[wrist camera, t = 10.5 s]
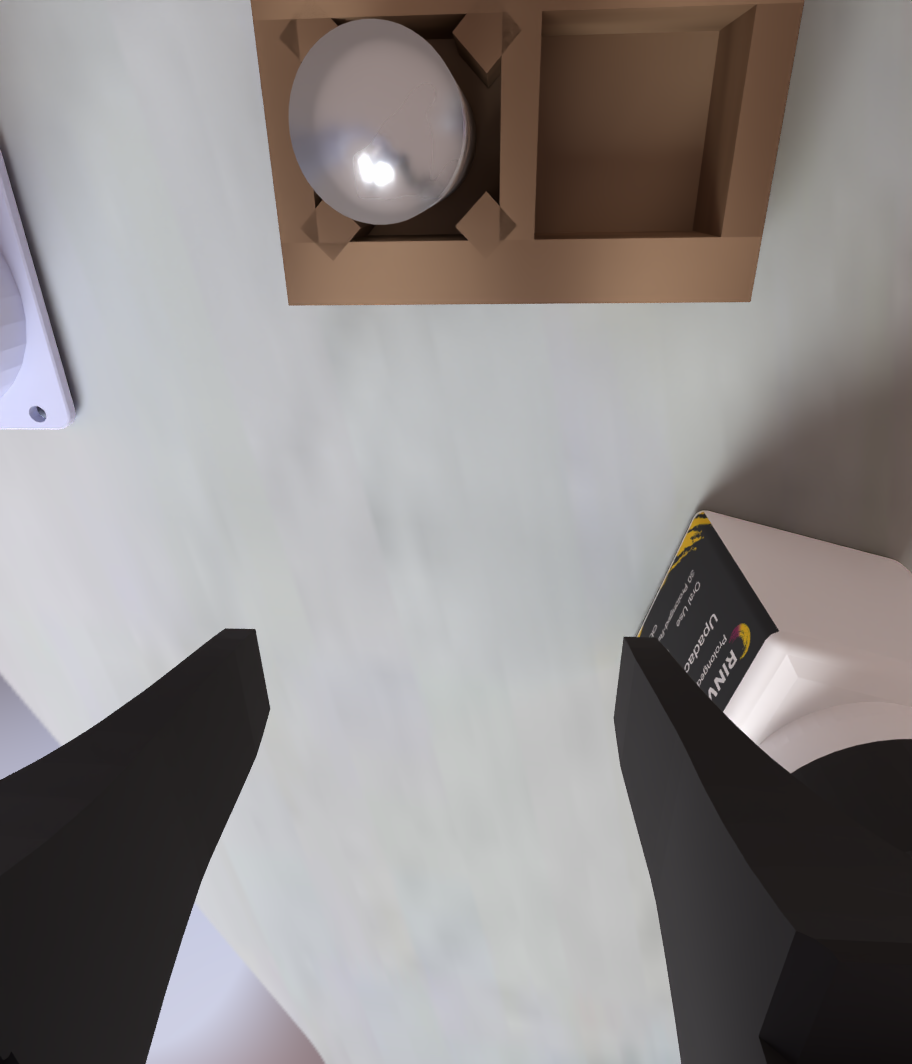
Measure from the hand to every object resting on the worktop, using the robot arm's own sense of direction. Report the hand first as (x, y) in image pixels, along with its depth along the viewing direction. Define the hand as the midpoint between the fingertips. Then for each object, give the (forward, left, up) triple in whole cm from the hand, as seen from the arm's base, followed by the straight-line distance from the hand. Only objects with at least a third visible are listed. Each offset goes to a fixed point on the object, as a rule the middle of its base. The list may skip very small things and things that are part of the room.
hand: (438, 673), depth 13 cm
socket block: (+2, +10, -9) cm, 13 cm away
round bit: (-1, +10, -9) cm, 13 cm away
